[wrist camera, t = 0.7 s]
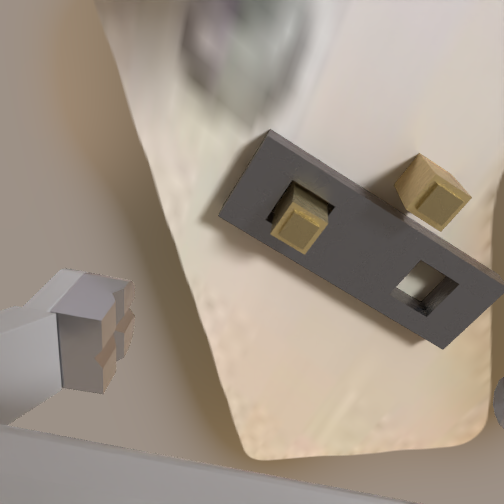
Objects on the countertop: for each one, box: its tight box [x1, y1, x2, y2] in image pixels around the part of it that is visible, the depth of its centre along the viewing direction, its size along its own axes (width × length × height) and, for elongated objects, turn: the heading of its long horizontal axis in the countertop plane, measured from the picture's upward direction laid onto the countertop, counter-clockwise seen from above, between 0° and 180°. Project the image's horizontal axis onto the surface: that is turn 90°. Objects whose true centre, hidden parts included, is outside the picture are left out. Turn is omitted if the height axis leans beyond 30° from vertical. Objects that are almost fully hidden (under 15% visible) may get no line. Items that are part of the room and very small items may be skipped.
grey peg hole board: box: [218, 129, 504, 349], centre depth 50 cm, size 10×30×3 cm, turn 59°
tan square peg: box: [270, 181, 328, 255], centre depth 47 cm, size 4×4×8 cm
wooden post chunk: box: [394, 153, 472, 232], centre depth 44 cm, size 4×4×8 cm
